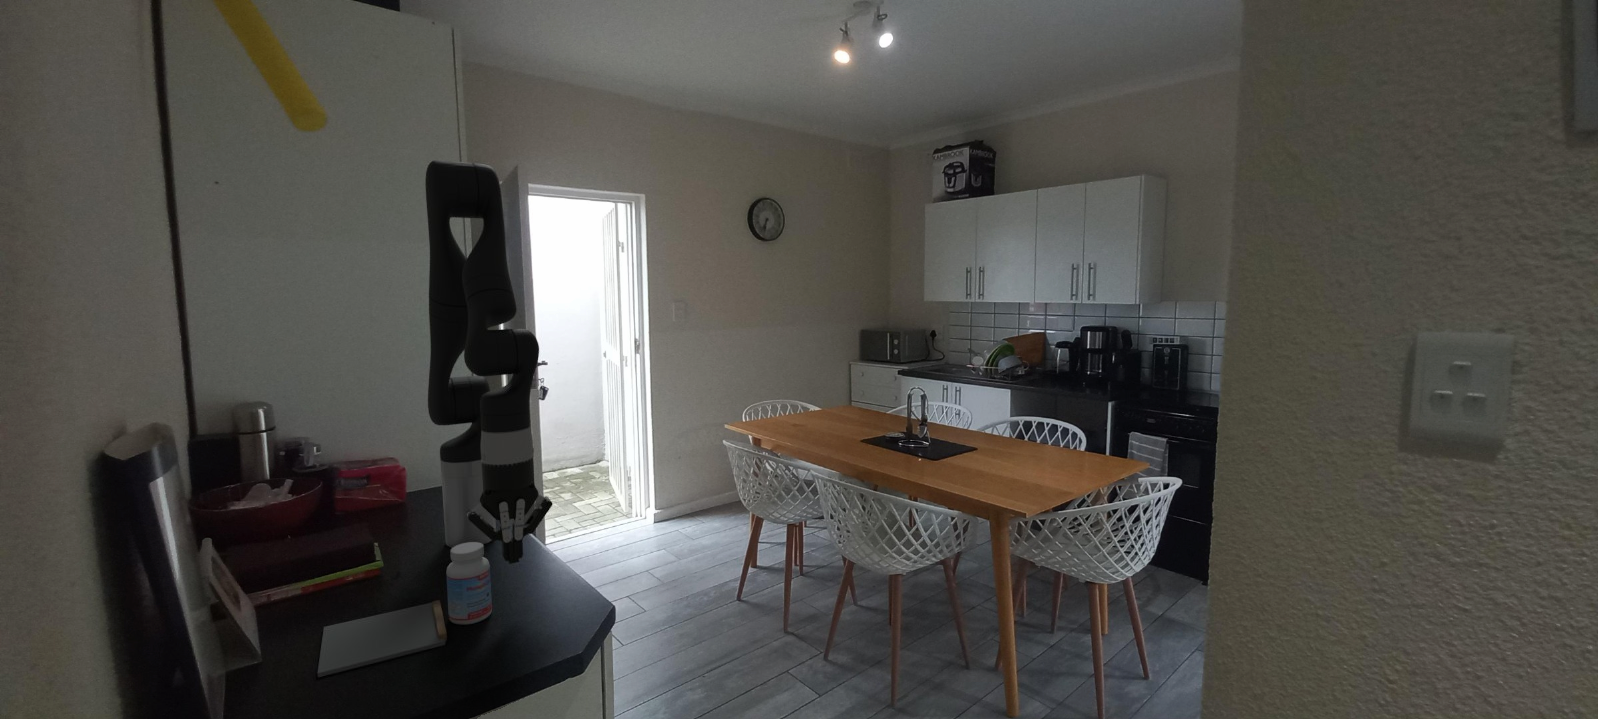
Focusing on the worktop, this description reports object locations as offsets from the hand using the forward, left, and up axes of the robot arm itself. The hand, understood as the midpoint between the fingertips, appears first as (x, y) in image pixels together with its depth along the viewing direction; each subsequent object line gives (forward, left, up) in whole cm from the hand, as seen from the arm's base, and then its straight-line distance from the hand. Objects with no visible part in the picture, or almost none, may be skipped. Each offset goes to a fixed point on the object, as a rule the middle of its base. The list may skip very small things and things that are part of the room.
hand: (513, 561), depth 107 cm
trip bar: (0, -11, -8) cm, 13 cm away
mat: (0, -18, -8) cm, 20 cm away
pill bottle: (0, -6, -8) cm, 10 cm away
